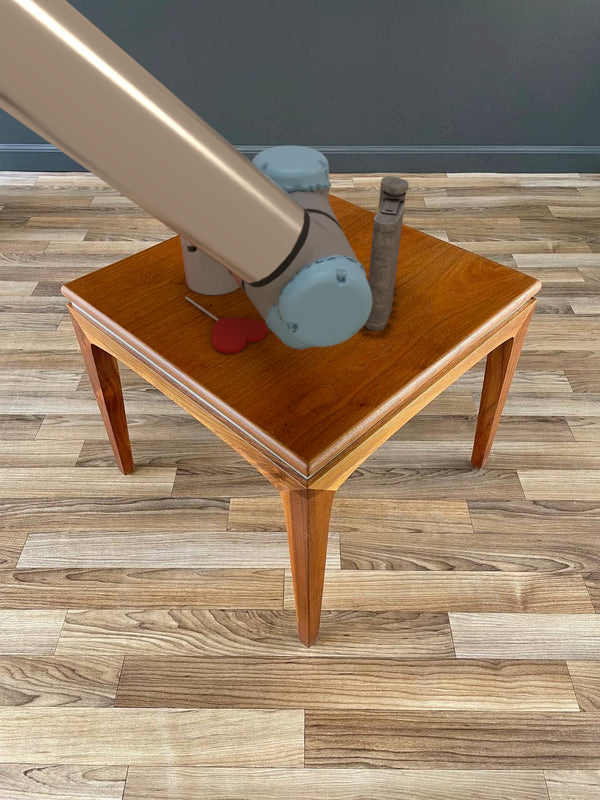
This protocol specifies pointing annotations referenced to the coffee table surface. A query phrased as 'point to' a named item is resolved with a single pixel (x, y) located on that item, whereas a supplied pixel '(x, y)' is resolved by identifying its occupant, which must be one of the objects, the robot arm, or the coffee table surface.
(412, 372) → the coffee table surface
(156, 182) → the robot arm
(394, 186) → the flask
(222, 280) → the canister
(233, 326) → the lollipop
